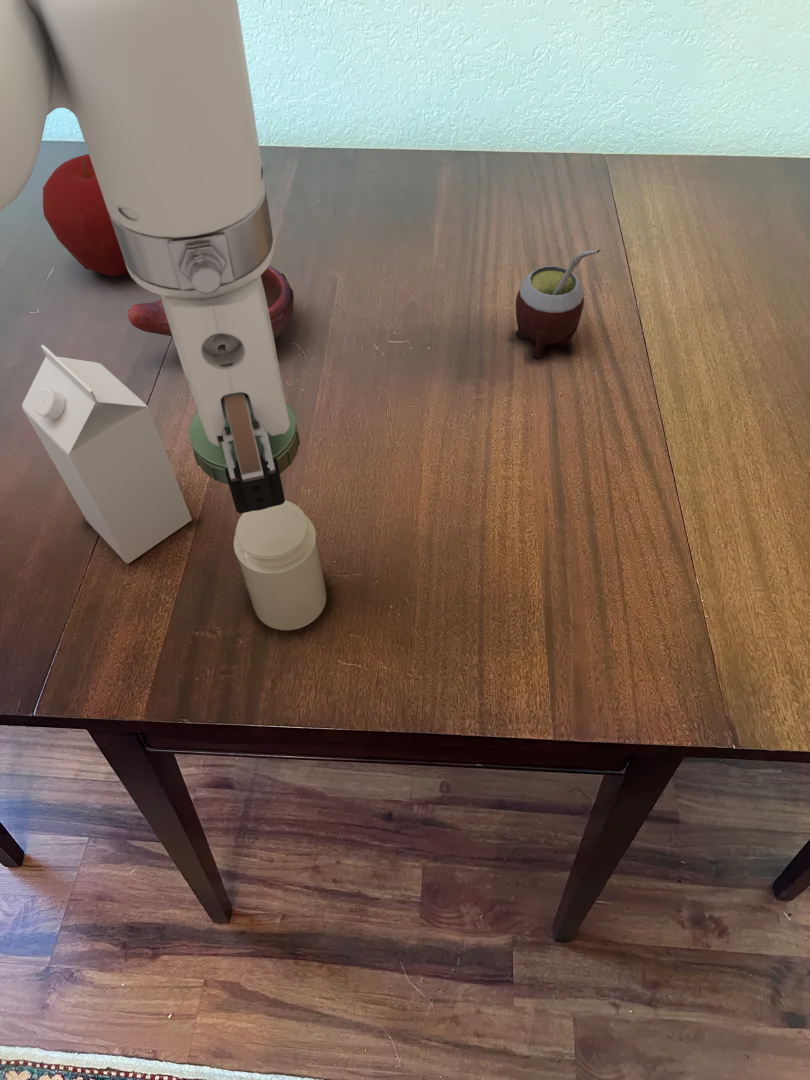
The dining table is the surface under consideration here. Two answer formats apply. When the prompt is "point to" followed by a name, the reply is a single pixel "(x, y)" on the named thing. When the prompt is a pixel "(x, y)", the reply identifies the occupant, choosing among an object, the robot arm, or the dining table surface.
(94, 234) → the apple
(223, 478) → the jar lid
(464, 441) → the dining table surface
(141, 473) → the milk carton
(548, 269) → the mate gourd
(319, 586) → the jar
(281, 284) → the bowl
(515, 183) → the dining table surface
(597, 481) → the dining table surface
